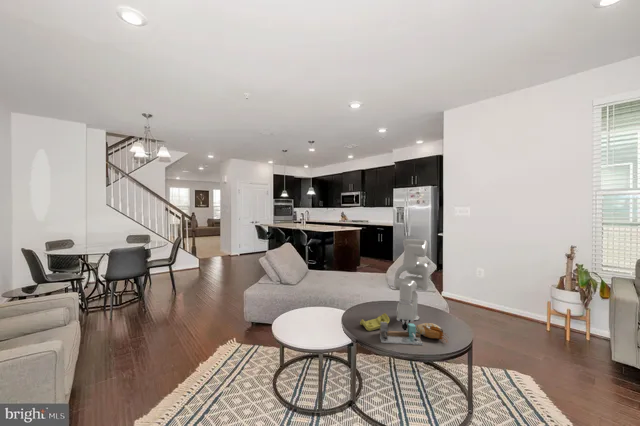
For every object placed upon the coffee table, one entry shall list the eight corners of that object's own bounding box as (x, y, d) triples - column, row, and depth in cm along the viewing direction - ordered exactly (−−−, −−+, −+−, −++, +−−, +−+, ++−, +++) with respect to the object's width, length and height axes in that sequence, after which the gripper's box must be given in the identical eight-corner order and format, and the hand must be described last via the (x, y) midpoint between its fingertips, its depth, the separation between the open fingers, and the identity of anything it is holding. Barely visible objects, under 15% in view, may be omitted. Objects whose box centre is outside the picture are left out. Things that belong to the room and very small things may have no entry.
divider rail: (380, 333, 179) (380, 321, 179) (418, 335, 177) (419, 323, 177) (382, 341, 168) (383, 329, 167) (424, 344, 166) (424, 331, 165)
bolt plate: (379, 337, 174) (379, 335, 174) (419, 339, 172) (419, 337, 172) (381, 342, 167) (381, 340, 167) (422, 345, 165) (422, 343, 165)
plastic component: (368, 329, 180) (361, 317, 188) (366, 336, 184) (358, 324, 191) (392, 322, 188) (384, 311, 196) (389, 329, 192) (381, 318, 200)
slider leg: (407, 334, 178) (407, 323, 177) (413, 334, 177) (413, 323, 177) (411, 343, 166) (412, 331, 166) (418, 343, 166) (418, 331, 166)
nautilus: (455, 344, 167) (437, 350, 161) (429, 328, 186) (412, 332, 180) (456, 332, 166) (438, 337, 160) (429, 317, 186) (412, 321, 180)
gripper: (415, 300, 178) (415, 327, 178) (392, 299, 179) (391, 326, 180) (418, 304, 170) (418, 332, 171) (394, 303, 172) (394, 331, 172)
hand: (404, 329), depth 175 cm, fingers closed
